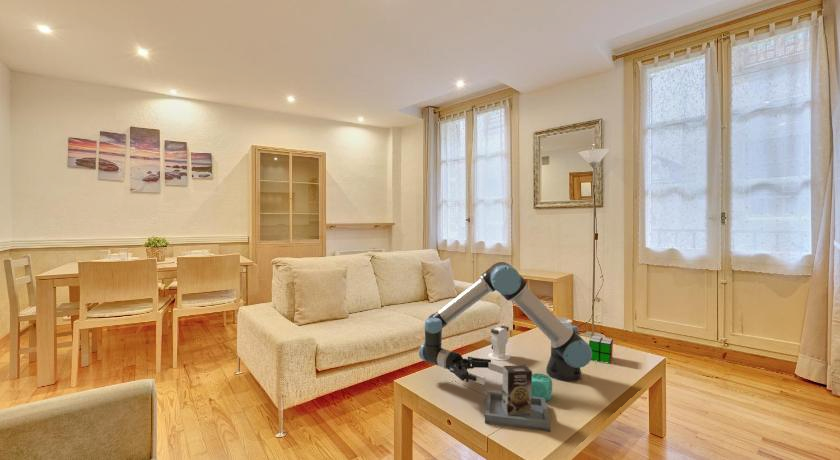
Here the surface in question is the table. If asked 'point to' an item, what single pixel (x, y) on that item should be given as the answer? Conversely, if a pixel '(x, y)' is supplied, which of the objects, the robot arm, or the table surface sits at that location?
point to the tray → (533, 421)
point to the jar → (565, 320)
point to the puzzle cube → (601, 348)
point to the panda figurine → (499, 343)
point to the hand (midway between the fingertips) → (494, 375)
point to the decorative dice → (541, 386)
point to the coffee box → (517, 390)
